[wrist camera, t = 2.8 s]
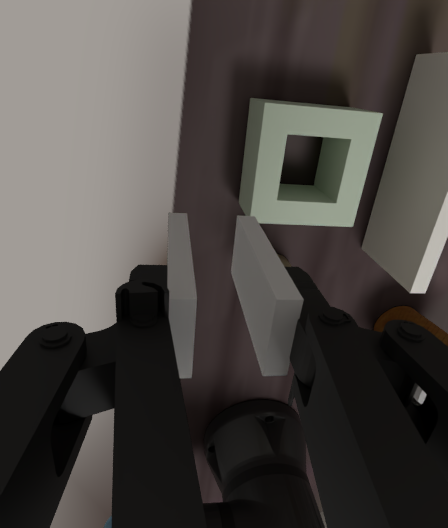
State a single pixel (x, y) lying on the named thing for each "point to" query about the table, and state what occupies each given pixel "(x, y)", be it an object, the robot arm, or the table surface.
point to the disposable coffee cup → (417, 318)
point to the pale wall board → (414, 181)
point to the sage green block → (329, 166)
